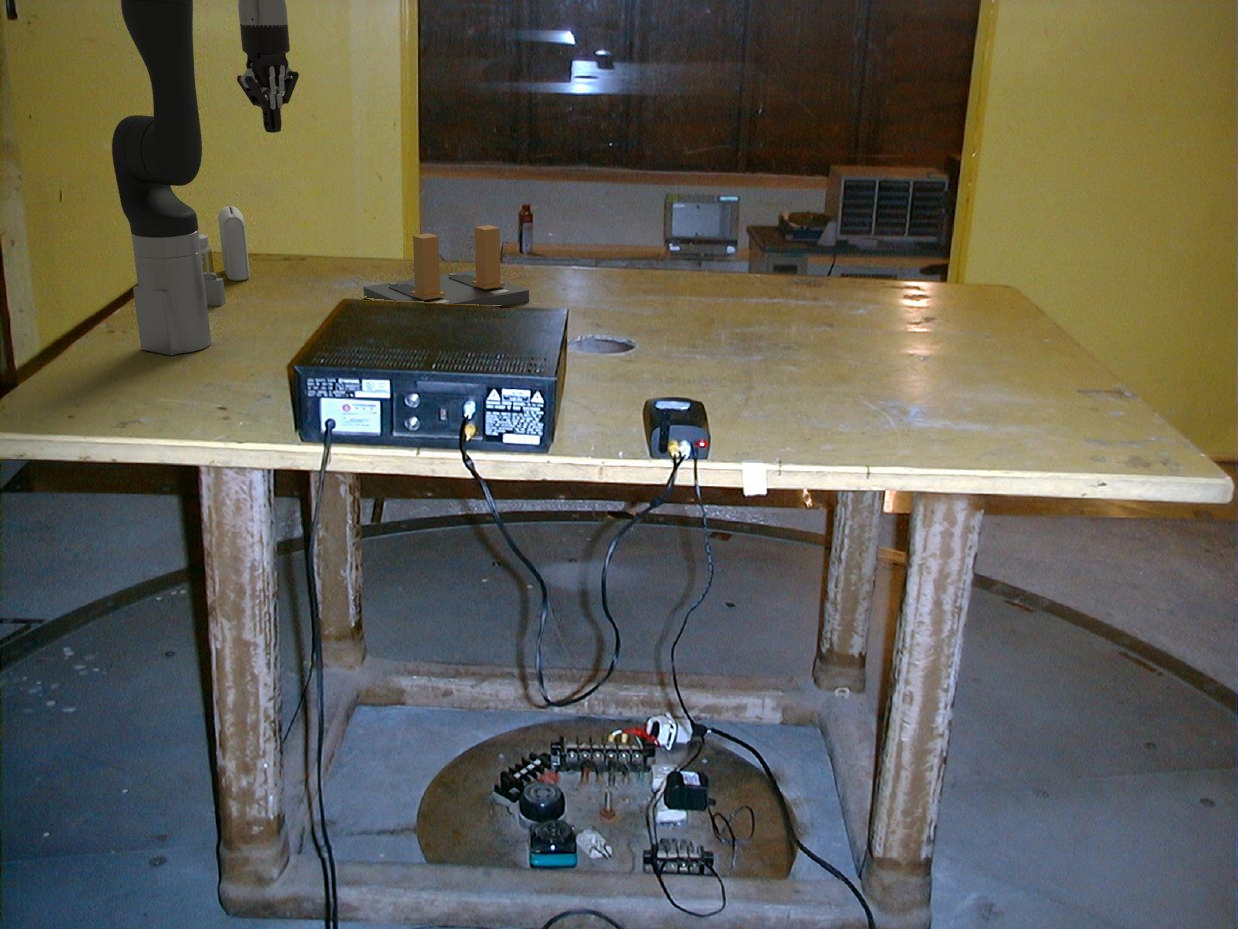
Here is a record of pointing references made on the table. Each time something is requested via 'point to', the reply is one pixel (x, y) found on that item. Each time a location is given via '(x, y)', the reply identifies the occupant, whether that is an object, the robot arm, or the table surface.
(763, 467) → the table surface
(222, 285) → the lighter
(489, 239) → the brown tall rectangular block
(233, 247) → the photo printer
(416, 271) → the tab left
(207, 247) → the supplement bottle
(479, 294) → the base plate
